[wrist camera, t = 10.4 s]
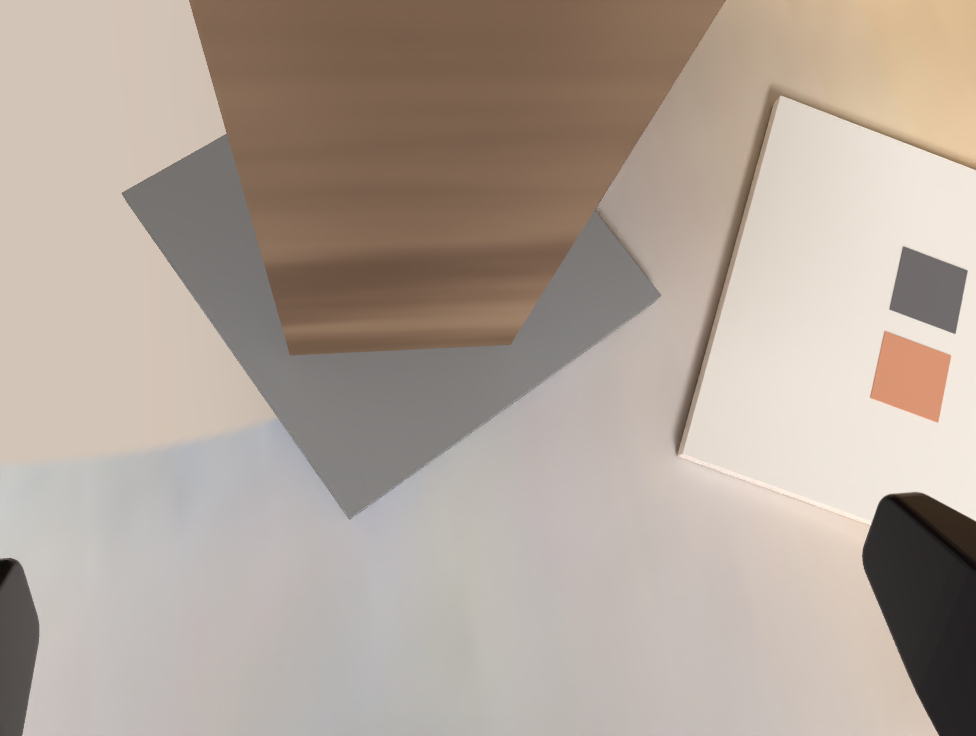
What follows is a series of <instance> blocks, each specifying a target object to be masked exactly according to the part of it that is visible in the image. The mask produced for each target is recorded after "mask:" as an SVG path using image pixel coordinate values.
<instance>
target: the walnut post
mask: <svg viewBox="0 0 976 736" xmlns="http://www.w3.org/2000/svg"><path fill="white" fill-rule="evenodd" d="M189 2H190V5H191V9H192V12H193V16H194V19H195V23H196V26H197V30H198V33H199V37H200V40H201V44H202V47H203V51H204V54H205V58H206V61H207V65H208V68H209V72H210V75H211V79H212V83H213V86H214V89H215V93H216V97H217V100H218V104H219V107H220V111H221V114H222V118H223V121H224V125H225V128H226V132H227V135H228V139H229V143H230V146H231V150H232V153H233V157H234V160H235V164H236V167H237V171H238V174H239V178H240V181H241V185H242V188H243V192H244V195H245V199H246V202H247V206H248V209H249V213H250V217H251V220H252V224H253V227H254V231H255V234H256V238H257V241H258V245H259V248H260V252H261V255H262V259H263V262H264V266H265V269H266V273H267V276H268V280H269V284H270V287H271V291H272V294H273V298H274V301H275V305H276V308H277V312H278V315H279V319H280V322H281V326H282V329H283V333H284V336H285V340H286V343H287V347H288V350H289V354H290V356H291V355H311V354H332V353H353V352H373V351H394V350H415V349H435V348H456V347H476V346H497V345H511V343H512V342H513V340H514V338H515V337H516V335H517V334H518V332H519V330H520V329H521V327H522V326H523V324H524V322H525V321H526V319H527V318H528V316H529V314H530V313H531V311H532V310H533V308H534V306H535V305H536V303H537V302H538V300H539V298H540V297H541V295H542V294H543V292H544V290H545V289H546V287H547V286H548V284H549V282H550V281H551V279H552V278H553V276H554V274H555V273H556V271H557V269H558V268H559V266H560V265H561V263H562V261H563V260H564V258H565V257H566V255H567V253H568V252H569V250H570V249H571V247H572V245H573V244H574V242H575V241H576V239H577V237H578V236H579V234H580V233H581V231H582V229H583V228H584V226H585V225H586V223H587V221H588V220H589V218H590V217H591V215H592V213H593V212H594V210H595V209H596V207H597V205H598V204H599V202H600V201H601V199H602V197H603V196H604V194H605V193H606V191H607V189H608V188H609V186H610V185H611V183H612V181H613V180H614V178H615V177H616V175H617V173H618V172H619V170H620V169H621V167H622V165H623V164H624V162H625V161H626V159H627V157H628V156H629V154H630V153H631V151H632V149H633V148H634V146H635V145H636V143H637V141H638V140H639V138H640V137H641V135H642V133H643V132H644V130H645V129H646V127H647V125H648V124H649V122H650V121H651V119H652V117H653V116H654V114H655V113H656V111H657V109H658V108H659V106H660V105H661V103H662V101H663V100H664V98H665V97H666V95H667V93H668V92H669V90H670V89H671V87H672V85H673V84H674V82H675V81H676V79H677V77H678V76H679V74H680V73H681V71H682V69H683V68H684V66H685V64H686V63H687V61H688V60H689V58H690V56H691V55H692V53H693V52H694V50H695V48H696V47H697V45H698V44H699V42H700V40H701V39H702V37H703V36H704V34H705V32H706V31H707V29H708V28H709V26H710V24H711V23H712V21H713V20H714V18H715V16H716V15H717V13H718V12H719V10H720V8H721V7H722V5H723V4H724V2H725V0H189Z"/></svg>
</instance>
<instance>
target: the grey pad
mask: <svg viewBox="0 0 976 736" xmlns="http://www.w3.org/2000/svg"><path fill="white" fill-rule="evenodd" d="M122 195H123V196H124V198H125V200H126V201H127V203H128V204H129V206H130V207H131V209H132V210H133V212H134V213H135V214H136V216H137V217H138V219H139V220H140V222H141V223H142V224H143V226H144V227H145V229H146V230H147V231H148V233H149V234H150V236H151V237H152V239H153V240H154V242H155V243H156V244H157V246H158V247H159V249H160V250H161V251H162V253H163V254H164V256H165V257H166V258H167V260H168V262H169V263H170V264H171V266H172V267H173V269H174V270H175V271H176V273H177V274H178V276H179V277H180V278H181V280H182V281H183V283H184V284H185V286H186V287H187V289H188V290H189V291H190V293H191V294H192V296H193V297H194V299H195V300H196V301H197V303H198V304H199V306H200V307H201V309H202V310H203V311H204V313H205V314H206V316H207V317H208V318H209V320H210V321H211V323H212V324H213V326H214V327H215V328H216V330H217V331H218V333H219V334H220V335H221V337H222V339H223V340H224V341H225V343H226V344H227V346H228V347H229V349H230V350H231V351H232V353H233V354H234V356H235V357H236V359H237V360H238V361H239V363H240V364H241V366H242V367H243V368H244V370H245V371H246V373H247V374H248V376H249V377H250V378H251V380H252V381H253V383H254V384H255V385H256V387H257V388H258V390H259V391H260V393H261V394H262V396H263V397H264V398H265V400H266V401H267V402H268V404H269V406H270V407H271V408H272V410H273V411H274V413H275V414H276V416H277V417H278V418H279V420H280V421H281V423H282V424H283V426H284V427H285V428H286V430H287V431H288V433H289V434H290V436H291V437H292V438H293V440H294V441H295V443H296V444H297V445H298V447H299V448H300V450H301V451H302V453H303V454H304V455H305V457H306V458H307V460H308V461H309V463H310V464H311V465H312V467H313V468H314V470H315V471H316V473H317V474H318V475H319V477H320V478H321V480H322V481H323V483H324V484H325V485H326V487H327V488H328V490H329V491H330V493H331V494H332V495H333V497H334V498H335V500H336V501H337V503H338V504H339V505H340V507H341V508H342V510H343V511H344V513H345V514H346V515H347V517H348V518H349V520H350V519H351V518H353V517H354V516H355V515H357V514H358V513H360V512H361V511H362V510H364V509H365V508H367V507H368V506H369V505H371V504H372V503H374V502H375V501H376V500H378V499H379V498H381V497H382V496H383V495H385V494H386V493H388V492H389V491H390V490H392V489H393V488H395V487H396V486H397V485H399V484H400V483H402V482H403V481H404V480H406V479H407V478H409V477H410V476H411V475H413V474H414V473H416V472H417V471H418V470H420V469H421V468H423V467H424V466H425V465H427V464H428V463H430V462H431V461H432V460H434V459H435V458H437V457H438V456H439V455H441V454H442V453H444V452H445V451H447V450H448V449H449V448H451V447H452V446H454V445H455V444H456V443H458V442H459V441H461V440H462V439H463V438H465V437H466V436H468V435H469V434H470V433H472V432H473V431H475V430H476V429H477V428H479V427H480V426H482V425H483V424H484V423H486V422H487V421H489V420H490V419H491V418H493V417H494V416H496V415H497V414H498V413H500V412H501V411H503V410H504V409H505V408H507V407H508V406H510V405H511V404H512V403H514V402H515V401H517V400H518V399H519V398H521V397H522V396H524V395H525V394H526V393H528V392H529V391H531V390H532V389H533V388H535V387H536V386H538V385H539V384H540V383H542V382H543V381H545V380H546V379H547V378H549V377H550V376H552V375H553V374H554V373H556V372H557V371H559V370H560V369H561V368H563V367H564V366H566V365H567V364H569V363H570V362H571V361H573V360H574V359H576V358H577V357H578V356H580V355H581V354H583V353H584V352H585V351H587V350H588V349H590V348H591V347H592V346H594V345H595V344H597V343H598V342H599V341H601V340H602V339H604V338H605V337H606V336H608V335H609V334H611V333H612V332H613V331H615V330H616V329H618V328H619V327H620V326H622V325H623V324H625V323H626V322H627V321H629V320H630V319H632V318H633V317H634V316H636V315H637V314H639V313H640V312H641V311H643V310H644V309H646V308H647V307H648V306H650V305H651V304H653V303H654V302H655V301H656V300H657V299H658V298H659V297H660V296H661V295H660V293H659V292H658V291H657V289H656V288H655V287H654V285H653V284H652V283H651V282H650V280H649V279H648V278H647V276H646V275H645V274H644V273H643V271H642V270H641V269H640V267H639V266H638V265H637V263H636V262H635V261H634V260H633V258H632V257H631V256H630V254H629V253H628V252H627V251H626V249H625V248H624V247H623V245H622V244H621V243H620V241H619V240H618V239H617V238H616V236H615V235H614V234H613V232H612V231H611V230H610V229H609V227H608V226H607V225H606V223H605V222H604V221H603V220H602V218H601V217H600V216H599V214H598V213H597V212H596V210H594V212H593V213H592V215H591V217H590V218H589V220H588V221H587V223H586V225H585V226H584V228H583V229H582V231H581V233H580V234H579V236H578V237H577V239H576V241H575V242H574V244H573V245H572V247H571V249H570V250H569V252H568V253H567V255H566V257H565V258H564V260H563V261H562V263H561V265H560V266H559V268H558V269H557V271H556V273H555V274H554V276H553V278H552V279H551V281H550V282H549V284H548V286H547V287H546V289H545V290H544V292H543V294H542V295H541V297H540V298H539V300H538V302H537V303H536V305H535V306H534V308H533V310H532V311H531V313H530V314H529V316H528V318H527V319H526V321H525V322H524V324H523V326H522V327H521V329H520V330H519V332H518V334H517V335H516V337H515V338H514V340H513V342H512V343H511V345H497V346H476V347H456V348H435V349H415V350H394V351H373V352H353V353H332V354H311V355H291V356H290V354H289V350H288V347H287V343H286V340H285V336H284V333H283V329H282V326H281V322H280V319H279V315H278V312H277V308H276V305H275V301H274V298H273V294H272V291H271V287H270V284H269V280H268V276H267V273H266V269H265V266H264V262H263V259H262V255H261V252H260V248H259V245H258V241H257V238H256V234H255V231H254V227H253V224H252V220H251V217H250V213H249V209H248V206H247V202H246V199H245V195H244V192H243V188H242V185H241V181H240V178H239V174H238V171H237V167H236V164H235V160H234V157H233V153H232V150H231V146H230V143H229V139H228V135H227V134H226V135H224V136H222V137H220V138H218V139H217V140H215V141H213V142H211V143H210V144H208V145H206V146H204V147H203V148H201V149H199V150H197V151H195V152H194V153H192V154H190V155H188V156H187V157H185V158H183V159H181V160H180V161H178V162H176V163H174V164H172V165H171V166H169V167H167V168H165V169H163V170H162V171H160V172H158V173H157V174H155V175H153V176H151V177H149V178H147V179H146V180H144V181H142V182H140V183H139V184H137V185H135V186H133V187H132V188H130V189H128V190H126V191H125V192H123V193H122Z"/></svg>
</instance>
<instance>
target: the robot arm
mask: <svg viewBox="0 0 976 736" xmlns="http://www.w3.org/2000/svg"><path fill="white" fill-rule="evenodd" d="M862 558H863V565H864V569H865V573H866V575H867V577H868V580H869V582H870V585H871V587H872V589H873V592H874V594H875V597H876V599H877V601H878V604H879V606H880V609H881V611H882V613H883V616H884V618H885V620H886V623H887V625H888V628H889V630H890V632H891V635H892V637H893V640H894V642H895V644H896V647H897V649H898V652H899V654H900V656H901V659H902V661H903V664H904V666H905V668H906V671H907V673H908V675H909V677H910V680H911V682H912V684H913V686H914V688H915V690H916V693H917V695H918V697H919V699H920V701H921V702H922V704H923V706H924V708H925V710H926V712H927V714H928V716H929V718H930V720H931V722H932V723H933V725H934V727H935V729H936V731H937V733H938V734H939V736H976V521H975V520H973V519H971V518H969V517H967V516H966V515H964V514H962V513H960V512H958V511H956V510H954V509H953V508H951V507H949V506H947V505H945V504H943V503H941V502H939V501H938V500H936V499H934V498H932V497H930V496H928V495H926V494H924V493H920V492H907V493H893V494H888V495H886V496H884V497H883V498H882V499H881V500H880V501H879V504H878V506H877V509H876V512H875V515H874V517H873V520H872V523H871V526H870V529H869V532H868V535H867V538H866V541H865V544H864V547H863V555H862ZM38 643H39V620H38V616H37V612H36V609H35V606H34V602H33V599H32V596H31V593H30V589H29V586H28V583H27V579H26V576H25V573H24V570H23V567H22V566H21V564H20V563H19V561H17V560H15V559H12V558H3V559H0V736H22V734H23V728H24V723H25V717H26V711H27V706H28V700H29V694H30V689H31V683H32V677H33V672H34V666H35V660H36V655H37V649H38Z"/></svg>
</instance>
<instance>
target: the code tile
mask: <svg viewBox="0 0 976 736" xmlns="http://www.w3.org/2000/svg"><path fill="white" fill-rule="evenodd" d="M677 456H678V457H681V458H684V459H687V460H690V461H692V462H695V463H698V464H701V465H704V466H706V467H709V468H712V469H715V470H718V471H720V472H723V473H726V474H729V475H731V476H734V477H737V478H740V479H743V480H745V481H748V482H751V483H754V484H757V485H759V486H762V487H765V488H768V489H771V490H773V491H776V492H779V493H782V494H784V495H787V496H790V497H793V498H796V499H798V500H801V501H804V502H807V503H810V504H812V505H815V506H818V507H821V508H824V509H826V510H829V511H832V512H835V513H837V514H840V515H843V516H846V517H849V518H851V519H854V520H857V521H860V522H863V523H865V524H868V525H871V523H872V520H873V517H874V515H875V512H876V509H877V506H878V504H879V501H880V500H881V499H882V498H883V497H884V496H886V495H888V494H893V493H907V492H920V493H924V494H926V495H928V496H930V497H932V498H934V499H936V500H938V501H939V502H941V503H943V504H945V505H947V506H949V507H951V508H953V509H954V510H956V511H958V512H960V513H962V514H964V515H966V516H967V517H969V518H971V519H973V520H975V521H976V170H974V169H971V168H969V167H966V166H963V165H961V164H958V163H956V162H953V161H950V160H948V159H945V158H943V157H940V156H937V155H935V154H932V153H930V152H927V151H924V150H922V149H919V148H917V147H914V146H911V145H909V144H906V143H903V142H901V141H898V140H896V139H893V138H890V137H888V136H885V135H883V134H880V133H877V132H875V131H872V130H870V129H867V128H864V127H862V126H859V125H857V124H854V123H851V122H849V121H846V120H843V119H841V118H838V117H836V116H833V115H830V114H828V113H825V112H823V111H820V110H817V109H815V108H812V107H810V106H807V105H804V104H802V103H799V102H797V101H794V100H791V99H789V98H786V97H783V96H780V97H779V98H778V99H777V100H776V101H775V103H774V105H773V108H772V112H771V116H770V119H769V123H768V126H767V130H766V134H765V137H764V141H763V145H762V148H761V152H760V156H759V159H758V163H757V167H756V170H755V174H754V177H753V181H752V185H751V188H750V192H749V196H748V199H747V203H746V207H745V210H744V214H743V218H742V221H741V225H740V228H739V232H738V236H737V239H736V243H735V247H734V250H733V254H732V258H731V261H730V265H729V269H728V272H727V276H726V280H725V283H724V287H723V290H722V294H721V298H720V301H719V305H718V309H717V312H716V316H715V320H714V323H713V327H712V331H711V334H710V338H709V341H708V345H707V349H706V352H705V356H704V360H703V363H702V367H701V371H700V374H699V378H698V382H697V385H696V389H695V393H694V396H693V400H692V403H691V407H690V411H689V414H688V418H687V422H686V425H685V429H684V433H683V436H682V440H681V444H680V447H679V451H678V454H677Z"/></svg>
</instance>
